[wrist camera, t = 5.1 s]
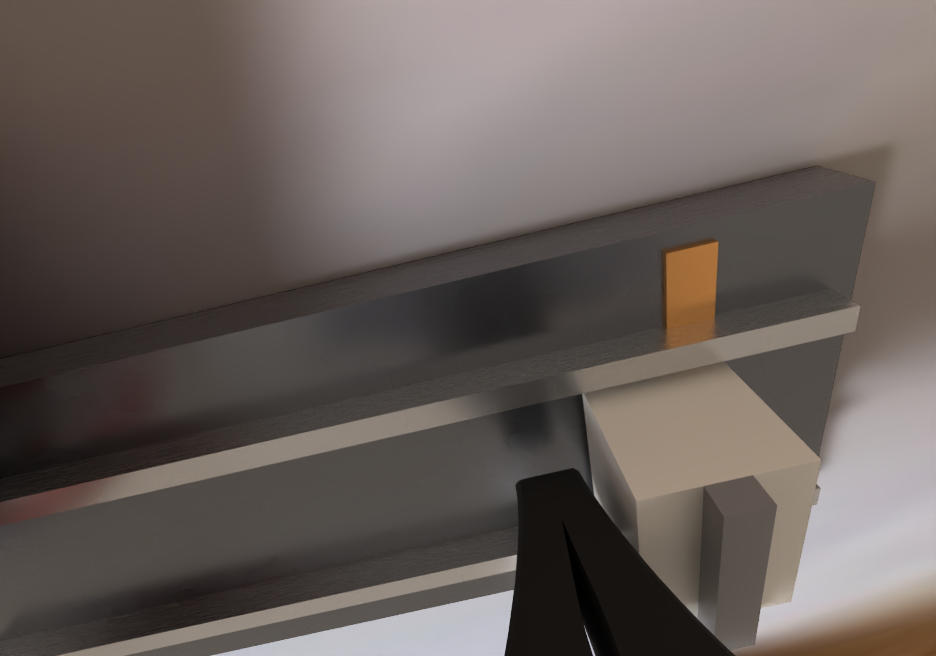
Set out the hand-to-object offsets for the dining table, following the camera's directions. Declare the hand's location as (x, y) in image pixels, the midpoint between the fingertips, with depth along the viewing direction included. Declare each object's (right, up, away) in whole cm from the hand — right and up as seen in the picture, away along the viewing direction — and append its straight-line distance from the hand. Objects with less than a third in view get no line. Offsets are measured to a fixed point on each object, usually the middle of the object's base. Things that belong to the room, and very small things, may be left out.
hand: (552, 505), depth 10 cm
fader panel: (-5, 0, +3) cm, 5 cm away
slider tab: (+3, +1, +1) cm, 3 cm away
